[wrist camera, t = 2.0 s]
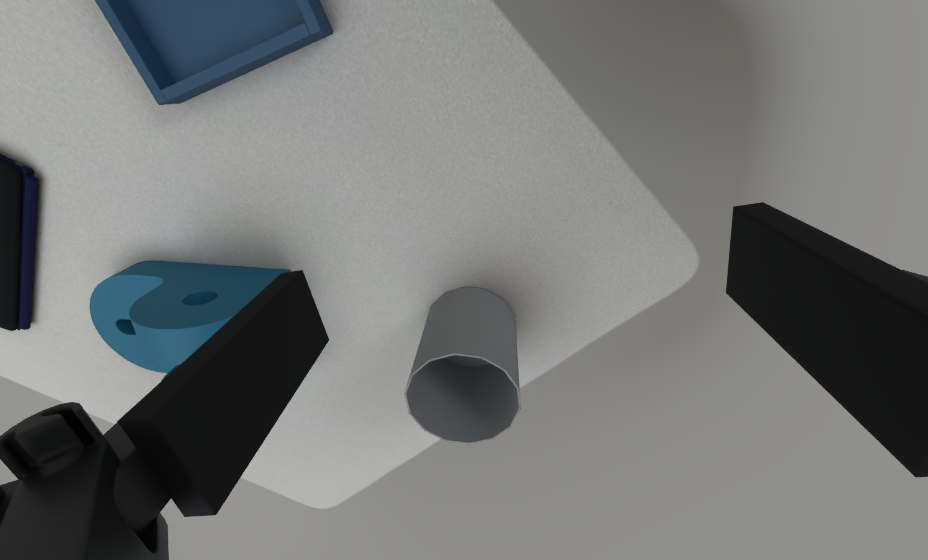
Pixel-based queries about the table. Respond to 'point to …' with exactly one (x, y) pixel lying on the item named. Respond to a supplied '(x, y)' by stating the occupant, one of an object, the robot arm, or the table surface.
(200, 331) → the camera mount
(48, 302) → the table surface
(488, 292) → the cup
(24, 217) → the laptop
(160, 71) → the tray
